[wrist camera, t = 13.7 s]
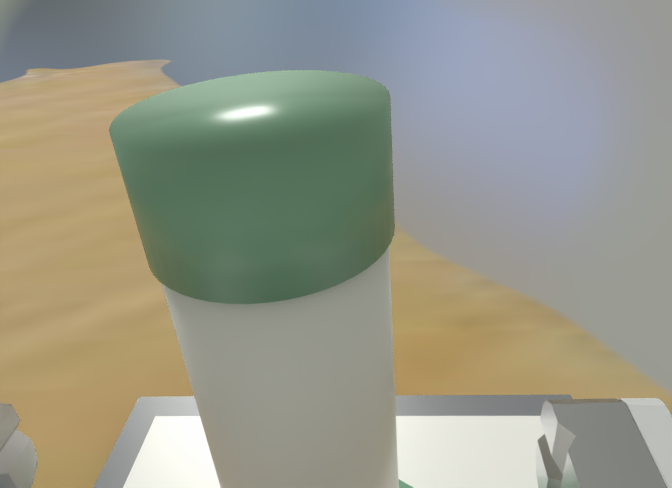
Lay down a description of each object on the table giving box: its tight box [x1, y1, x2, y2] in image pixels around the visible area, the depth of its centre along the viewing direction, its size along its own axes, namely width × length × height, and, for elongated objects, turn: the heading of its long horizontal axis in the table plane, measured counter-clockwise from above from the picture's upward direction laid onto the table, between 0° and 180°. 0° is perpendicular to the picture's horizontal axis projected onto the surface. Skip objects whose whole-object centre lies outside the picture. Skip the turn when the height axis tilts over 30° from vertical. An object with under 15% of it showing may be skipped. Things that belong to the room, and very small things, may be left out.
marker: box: [109, 70, 399, 488], centre depth 11 cm, size 4×4×12 cm
